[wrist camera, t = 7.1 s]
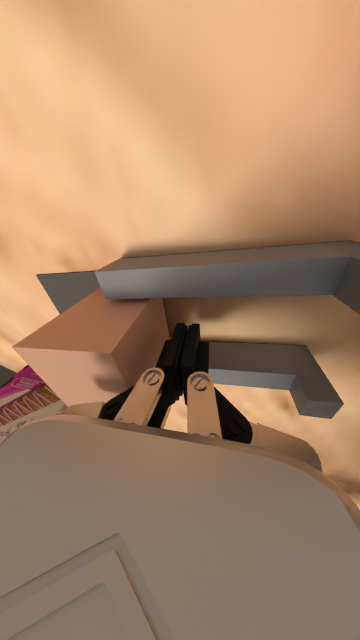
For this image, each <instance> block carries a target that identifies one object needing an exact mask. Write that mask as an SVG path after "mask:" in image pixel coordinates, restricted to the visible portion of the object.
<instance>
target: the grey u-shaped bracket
mask: <svg viewBox="0 0 360 640" xmlns="http://www.w3.org/2000/svg"><path fill="white" fill-rule="evenodd" d="M95 275H96V277H97V280H98V282H99V284H100V287H101V289H102V292H103V294H104V297H105V299H145V298H198V297H251V296H305V295H334V296H335V297H337V298H338V299H339V300H341V301H342V302H343V303H345V304H346V305H347V306H349V307H350V308H352V309H353V310H354V311H356V312H357V313H358V314H360V242H355V241H338V242H325V243H313V244H300V245H287V246H274V247H261V248H249V249H236V250H223V251H210V252H198V253H185V254H172V255H159V256H146V257H134V258H121V259H118V260H116V261H114V262H113V263H111V264H109V265H107V266H105V267H103V268H101V269H99V270H97V271H95ZM200 342H209V341H200ZM209 375H210V376H211V378H212V380H213V383H216V384H227V385H237V386H248V387H259V388H270V389H281V390H290V393H291V395H292V398H293V400H294V403H295V405H296V407H297V410H298V412H299V415H304V416H312V417H320V418H329V419H332V417H333V416H334V415H335V414H336V413H337V411H338V410H339V409H340V408H341V407H342V406H343V404H344V403H343V401H342V400H341V398H340V397H339V395H338V394H337V392H336V391H335V389H334V388H333V386H332V385H331V383H330V382H329V380H328V379H327V377H326V376H325V374H324V373H323V371H322V370H321V368H320V367H319V365H318V364H317V362H316V361H315V359H314V357H313V356H312V354H311V353H310V351H309V350H308V348H307V347H306V345H286V344H260V343H235V342H209Z"/></svg>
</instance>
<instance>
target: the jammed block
mask: <svg viewBox="0 0 360 640" xmlns="http://www.w3.org/2000/svg"><path fill="white" fill-rule="evenodd" d="M166 340H170V336H169V331H168V325H167V320H166V315H165V309H164V304H163V299H162V298H145V299H105V297H104V294H103V292H102V289H101V288H99V289H97V290H96V291H94V292H93V293H91V294H90V295H88V296H87V297H85V298H84V299H82V300H81V301H79V302H78V303H76V304H75V305H73V306H72V307H70V308H69V309H67V310H66V311H65V312H63V313H62V314H60V315H59V316H57V317H56V318H54V319H53V320H51V321H50V322H48V323H47V324H45V325H44V326H42V327H41V328H39V329H38V330H36V331H35V332H33V333H32V334H30V335H29V336H28V337H26V338H25V339H23V340H22V341H20V342H19V343H17V344H16V345H14V346H13V347H12V348H13V349H14V350H15V351H16V352H17V353H18V354H19V355H20V356H21V357H22V358H23V359H24V360H25V362H26V363H27V364H28V365H29V366H30V367H31V368H32V369H33V370H34V371H35V372H36V373H37V374H38V375H39V377H40V378H41V379H42V380H43V381H44V382H45V383H46V384H47V385H48V386H49V387H50V388H51V389H52V390H53V391H54V393H55V394H56V395H57V396H58V397H59V398H60V399H61V400H62V401H63V402H64V403H65V404H66V405H67V406H71V405H76V404H84V403H93V402H102V401H103V402H104V403H106V402H108V401H109V400H110V399H112V398H114V397H115V396H117V395H119V394H120V393H122V392H124V391H126V390H127V389H129V388H131V387H132V386H134V385H136V383H137V382H138V380H139V379H140V377H141V375H142V374H143V373H144V372H145V371H146V370H148V369H150V368H155V367H156V364H157V361H158V359H159V356H160V354H161V351H162V348H163V346H164V343H165V341H166Z"/></svg>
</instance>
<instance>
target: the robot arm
mask: <svg viewBox="0 0 360 640" xmlns="http://www.w3.org/2000/svg"><path fill="white" fill-rule="evenodd" d="M183 393H184V399H185V404H186V405H187V431H188V433H184V432H178V431H172V430H166V429H163V428H164V426H165V423H166V420H167V418H168V415H169V412H170V410H171V405H172V404H173V403H175V401H176V400H178V401H179V396H182V395H183ZM0 640H360V510H359V508H358V507H357V505H356V504H355V503H354V501H353V500H352V499H351V498H350V497H349V495H348V494H347V493H346V492H345V491H344V490H343V489H342V488H341V487H340V486H339V485H338V484H336V483H335V482H334V481H333V480H332V479H330V478H329V477H327V476H326V475H325V474H323V472H322V467H321V462H320V459H319V456H318V454H317V453H316V451H315V450H314V449H313V447H311V446H310V445H309V444H308V443H307V442H305V441H303V440H301V439H299V438H296V437H294V436H291V435H288V434H286V433H283V432H280V431H278V430H275V429H272V428H270V427H267V426H264V425H261V424H259V423H257V424H254V423H251V422H249V421H248V420H247V419H246V418H245V417H244V416H243V415H242V414H241V413H240V412H239V411H238V410H237V409H236V408H235V407H234V406H233V405H232V404H231V403H230V402H229V401H228V400H227V399H226V398H225V397H224V396H223V395H222V394H221V393H220V392H219V391H218V390H217V389H216V388H215V387H214V384H213V380H212V378H211V376H210V375H209V342H200V324H192V325H189V328H187V325H185V324H184V323H177V324H176V327H175V330H174V333H173V336H172V339H171V340H166V341H165V343H164V346H163V348H162V351H161V354H160V356H159V359H158V361H157V364H156V367H155V368H150V369H148V370H146V371H145V372H144V373H143V374H142V375H141V377H140V379H139V380H138V382H137V383H136V385H134V386H132V387H131V388H129V389H127V390H126V391H124V392H122V393H120V394H119V395H117V396H115V397H114V398H112V399H110V400H109V401H108V402H106V403H104V402H103V401H102V402H93V403H84V404H76V405H71V406H69V407H67V408H66V409H65V410H64V411H62V413H61V414H60V415H51V416H46V417H42V418H39V419H36V420H33V421H31V422H28V423H26V424H24V425H22V426H21V427H19V428H18V429H16V430H15V431H14V432H13V433H11V434H10V435H9V436H8V437H7V438H6V439H5V440H4V441H3V442H2V443H1V444H0Z"/></svg>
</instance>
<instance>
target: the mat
mask: <svg viewBox="0 0 360 640" xmlns="http://www.w3.org/2000/svg"><path fill="white" fill-rule="evenodd" d="M36 276H37V278H38V279H39V281H40V282H41V284H42V286H43V287H44V289H45V291H46V292H47V294H48V295H49V297H50V299H51V300H52V302H53V303H54V305H55V307H56V308H57V310H58V312H59V313H60V314H62V313H63V312H65V311H66V310H67V309H69V308H70V307H72V306H73V305H75V304H76V303H78V302H79V301H81V300H82V299H84V298H85V297H87V296H88V295H90V294H91V293H93V292H94V291H96V290H97V289H99V288H101V287H100V284H99V282H98V280H97V277H96V275H95V271H89V272H73V273H57V274H41V275H36Z"/></svg>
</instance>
